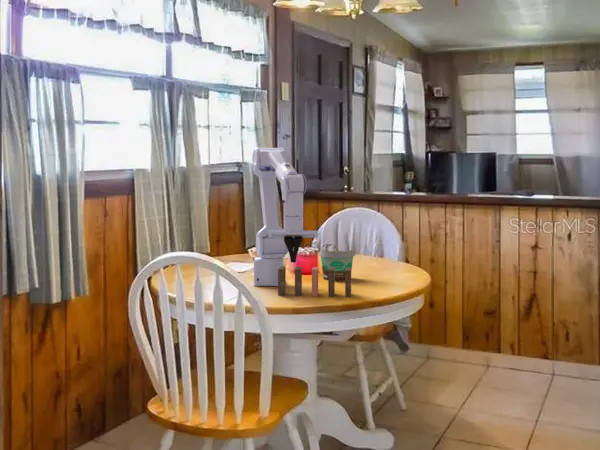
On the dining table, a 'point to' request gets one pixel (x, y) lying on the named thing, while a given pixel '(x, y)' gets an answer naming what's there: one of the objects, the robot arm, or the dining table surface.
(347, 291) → the domino
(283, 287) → the domino
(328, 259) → the food container
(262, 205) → the robot arm
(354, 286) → the dining table surface
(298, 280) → the domino
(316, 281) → the domino
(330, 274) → the domino
